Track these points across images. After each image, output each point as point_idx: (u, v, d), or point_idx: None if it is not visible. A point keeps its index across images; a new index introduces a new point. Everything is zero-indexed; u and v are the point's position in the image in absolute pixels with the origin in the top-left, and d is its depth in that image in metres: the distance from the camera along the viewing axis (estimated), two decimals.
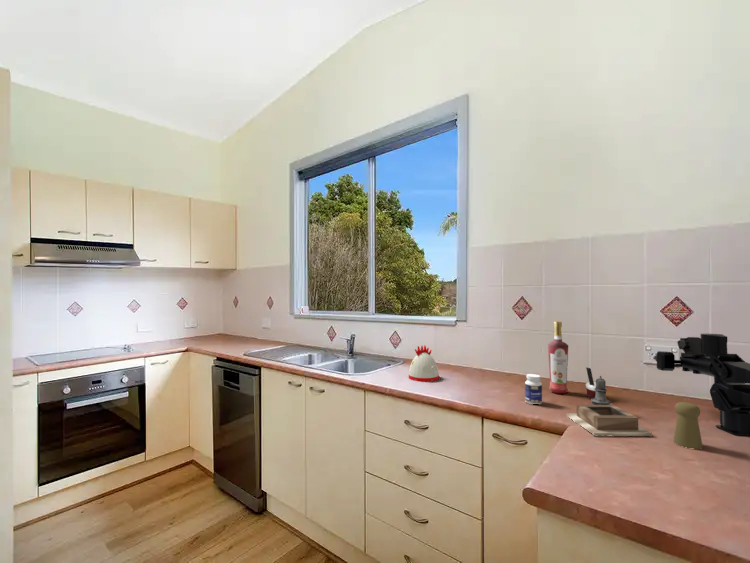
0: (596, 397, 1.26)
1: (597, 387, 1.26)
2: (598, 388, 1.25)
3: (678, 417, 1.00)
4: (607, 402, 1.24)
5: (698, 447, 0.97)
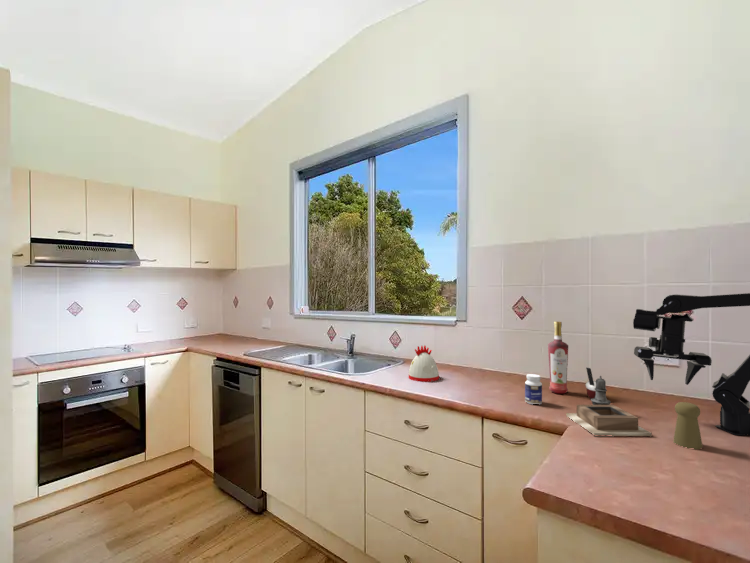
0: (596, 397, 1.26)
1: (597, 387, 1.26)
2: (598, 388, 1.25)
3: (678, 417, 1.00)
4: (607, 402, 1.24)
5: (698, 447, 0.97)
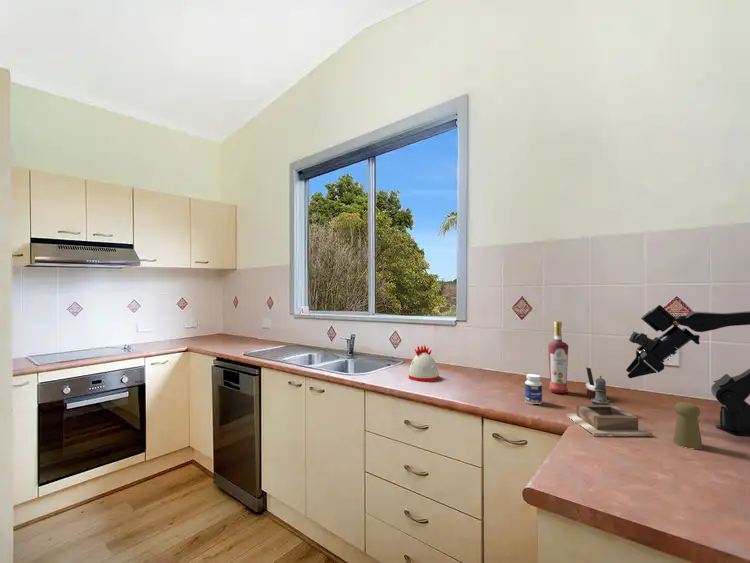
0: (596, 397, 1.26)
1: (597, 387, 1.26)
2: (598, 388, 1.25)
3: (678, 417, 1.00)
4: (607, 402, 1.24)
5: (698, 447, 0.97)
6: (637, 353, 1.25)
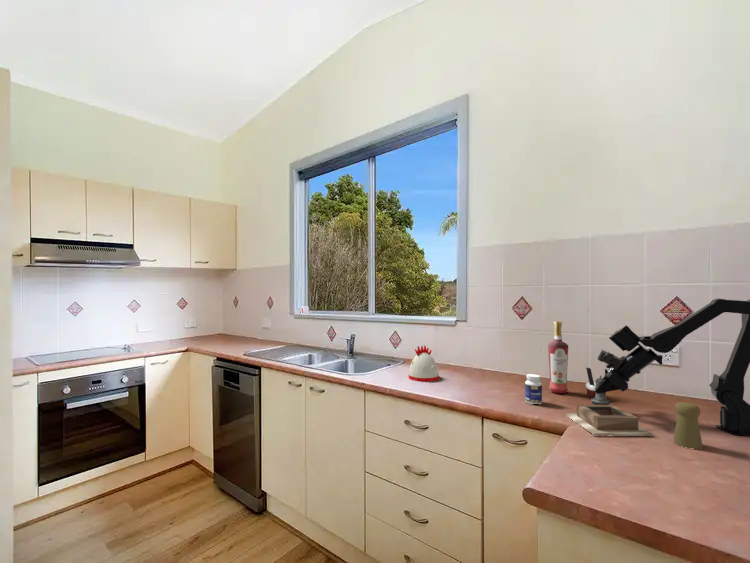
0: (596, 397, 1.26)
1: (597, 387, 1.26)
2: None
3: (678, 417, 1.00)
4: (607, 402, 1.24)
5: (698, 447, 0.97)
6: (606, 372, 1.27)
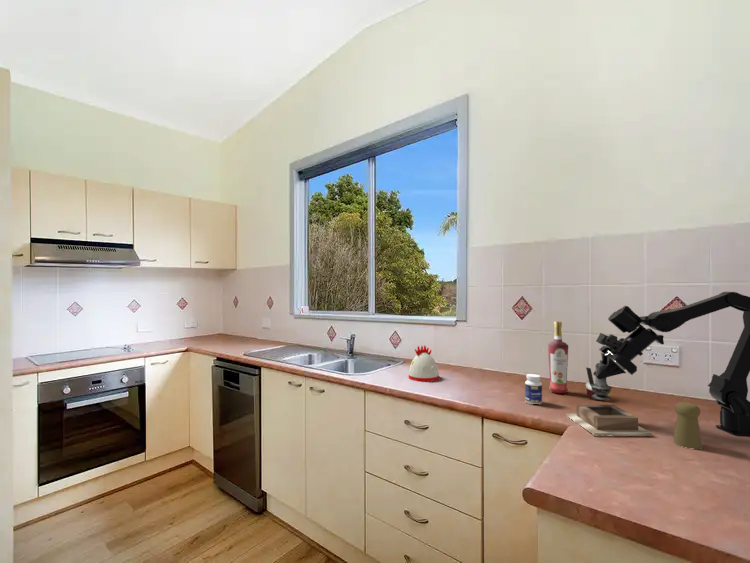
0: (597, 383, 1.19)
1: (598, 372, 1.18)
2: None
3: (678, 417, 1.00)
4: (609, 387, 1.17)
5: (698, 447, 0.97)
6: (604, 356, 1.21)
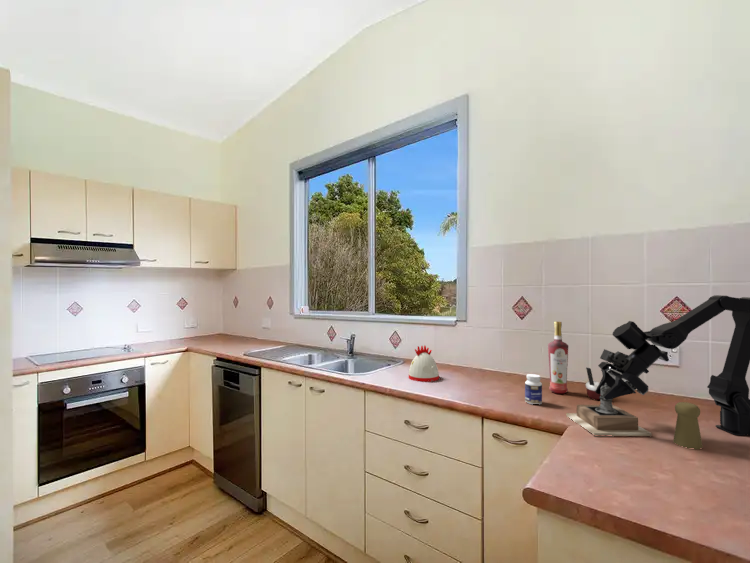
0: (603, 407, 1.12)
1: None
2: None
3: (678, 417, 1.00)
4: (615, 412, 1.11)
5: (698, 447, 0.97)
6: (605, 373, 1.16)
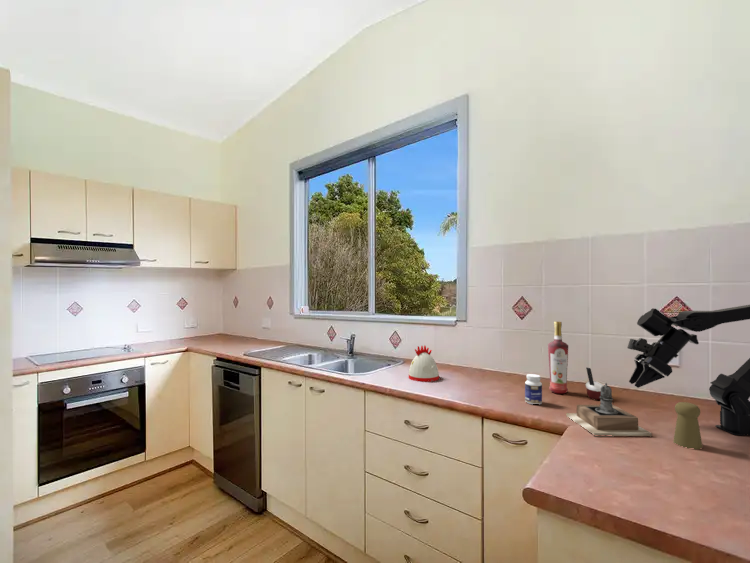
0: (603, 407, 1.12)
1: (604, 396, 1.12)
2: (606, 397, 1.12)
3: (678, 417, 1.00)
4: (615, 412, 1.11)
5: (698, 447, 0.97)
6: (637, 362, 1.20)
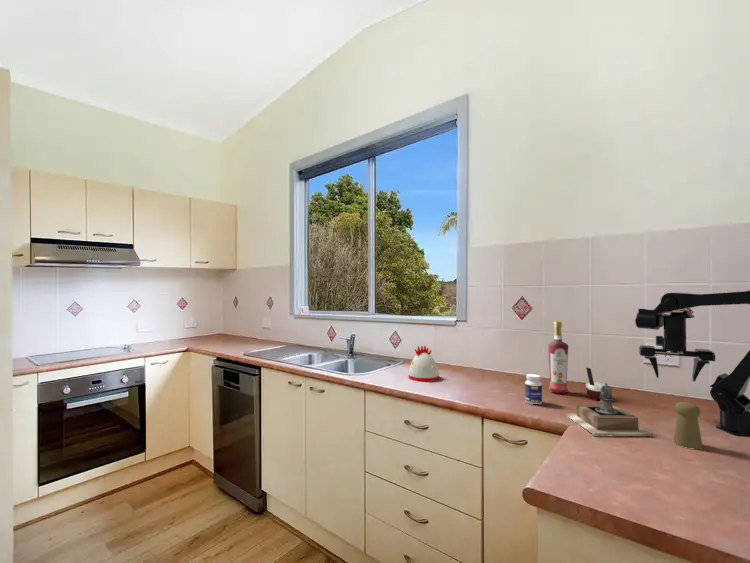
0: (603, 407, 1.12)
1: (604, 396, 1.12)
2: (606, 397, 1.12)
3: (678, 417, 1.00)
4: (615, 412, 1.11)
5: (698, 447, 0.97)
6: (694, 359, 1.20)
